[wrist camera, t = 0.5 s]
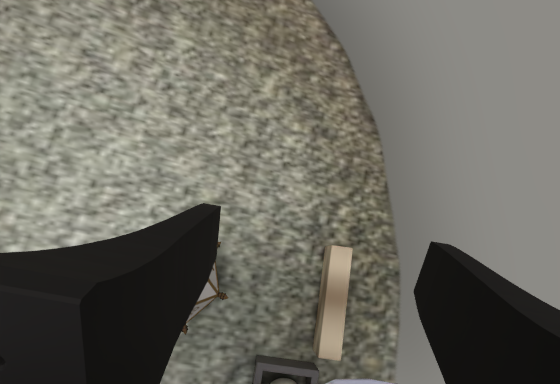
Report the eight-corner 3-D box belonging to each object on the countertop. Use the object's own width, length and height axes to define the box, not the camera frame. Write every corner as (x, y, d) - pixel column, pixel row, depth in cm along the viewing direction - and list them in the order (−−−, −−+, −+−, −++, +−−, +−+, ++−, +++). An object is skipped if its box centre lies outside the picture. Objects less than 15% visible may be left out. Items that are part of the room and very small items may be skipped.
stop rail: (332, 352, 34) (340, 360, 31) (312, 349, 34) (318, 357, 31) (344, 249, 36) (352, 248, 33) (325, 246, 36) (331, 245, 33)
